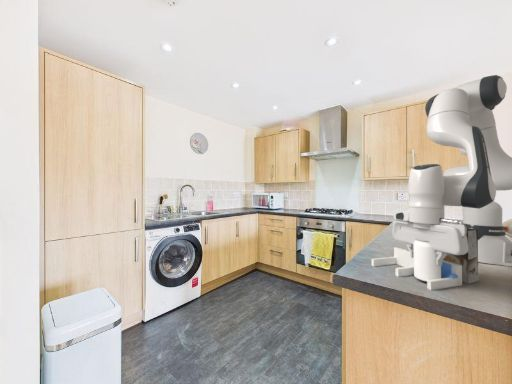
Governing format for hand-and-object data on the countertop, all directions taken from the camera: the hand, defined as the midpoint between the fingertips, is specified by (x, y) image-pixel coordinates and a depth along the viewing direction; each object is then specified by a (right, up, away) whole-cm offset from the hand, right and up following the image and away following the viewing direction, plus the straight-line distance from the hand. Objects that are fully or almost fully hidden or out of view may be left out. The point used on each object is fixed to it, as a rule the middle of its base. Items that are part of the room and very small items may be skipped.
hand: (425, 261), depth 66 cm
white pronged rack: (-1, -6, +5) cm, 8 cm away
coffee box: (+12, -6, +3) cm, 14 cm away
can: (0, -5, -1) cm, 5 cm away
